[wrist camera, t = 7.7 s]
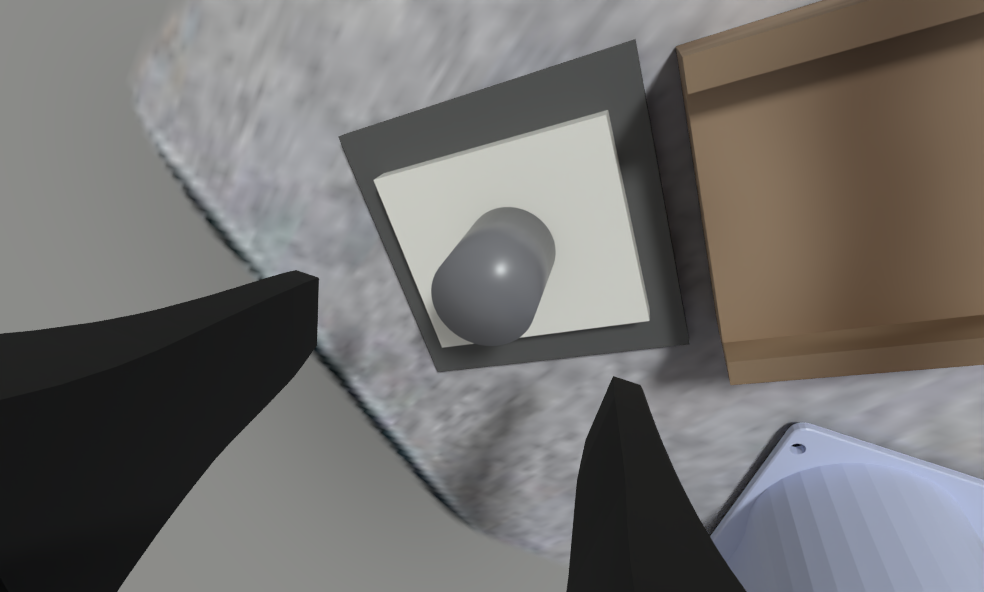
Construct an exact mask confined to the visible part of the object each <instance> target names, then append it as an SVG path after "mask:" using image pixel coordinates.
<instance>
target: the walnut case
mask: <svg viewBox="0 0 984 592" xmlns="http://www.w3.org/2000/svg"><path fill="white" fill-rule="evenodd" d="M676 52H677V59H678V66H679V72H680V79H681V86H682V92H683V99H684V106H685V112H686V119H687V126H688V132H689V139H690V145H691V152H692V159H693V165H694V172H695V179H696V185H697V192H698V199H699V205H700V212H701V219H702V225H703V232H704V239H705V245H706V252H707V259H708V265H709V272H710V279H711V285H712V292H713V299H714V305H715V312H716V319H717V324H718V329H719V334H720V338H721V343H722V348H723V352H724V357H725V362H726V366H727V371H728V375H729V380H730V385H738V384H751V383H763V382H775V381H788V380H800V379H812V378H825V377H837V376H849V375H862V374H874V373H886V372H899V371H911V370H924V369H936V368H948V367H961V366H973V365H984V0H822V1H819V2H816V3H813V4H809V5H806V6H803V7H800V8H797V9H793V10H790V11H787V12H784V13H781V14H777V15H774V16H771V17H768V18H765V19H762V20H758V21H755V22H752V23H749V24H746V25H742V26H739V27H736V28H733V29H730V30H726V31H723V32H720V33H717V34H714V35H710V36H707V37H704V38H701V39H698V40H694V41H691V42H688V43H685V44H682V45H679V46H676Z"/></svg>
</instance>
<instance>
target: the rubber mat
mask: <svg viewBox="0 0 984 592" xmlns="http://www.w3.org/2000/svg"><path fill="white" fill-rule="evenodd" d="M606 110H608V112H609V117H610V122H611V127H612V131H613V136H614V141H615V146H616V151H617V155H618V160H619V165H620V170H621V175H622V179H623V184H624V189H625V194H626V198H627V203H628V208H629V213H630V218H631V222H632V227H633V232H634V237H635V242H636V246H637V251H638V256H639V261H640V266H641V270H642V275H643V280H644V285H645V290H646V294H647V299H648V304H649V309H650V321H645V322H637V323H630V324H622V325H614V326H606V327H599V328H591V329H583V330H575V331H568V332H560V333H552V334H544V335H537V336H529V337H521V338H518V339H517V340H515V341H513V342H511V343H508V344H505V345H499V346H484V345H478V344H467V345H459V346H452V347H444V348H442V346H441V344H440V341H439V339H438V336H437V334H436V331H435V329H434V327H433V324H432V322H431V319H430V317H429V314H428V312H427V309H426V307H425V305H424V302H423V300H422V297H421V295H420V292H419V290H418V288H417V285H416V283H415V280H414V278H413V275H412V273H411V270H410V268H409V266H408V263H407V261H406V258H405V256H404V253H403V251H402V248H401V246H400V244H399V241H398V239H397V236H396V234H395V231H394V229H393V227H392V224H391V222H390V219H389V217H388V214H387V212H386V209H385V207H384V205H383V202H382V200H381V197H380V195H379V192H378V190H377V187H376V185H375V183H374V179H376V178H377V177H379V176H380V175H382V174H383V173H387V172H390V171H394V170H397V169H401V168H404V167H408V166H411V165H415V164H418V163H422V162H425V161H429V160H433V159H436V158H440V157H443V156H447V155H450V154H454V153H457V152H461V151H464V150H468V149H471V148H475V147H479V146H482V145H486V144H489V143H493V142H496V141H500V140H503V139H507V138H510V137H514V136H517V135H521V134H524V133H528V132H532V131H535V130H539V129H542V128H546V127H549V126H553V125H556V124H560V123H563V122H567V121H570V120H574V119H578V118H581V117H585V116H588V115H592V114H595V113H599V112H602V111H606ZM339 139H340V142H341V144H342V146H343V149H344V151H345V154H346V156H347V158H348V161H349V163H350V165H351V168H352V170H353V172H354V175H355V177H356V180H357V182H358V184H359V187H360V189H361V191H362V194H363V196H364V198H365V201H366V203H367V205H368V208H369V210H370V213H371V215H372V217H373V220H374V222H375V224H376V227H377V229H378V231H379V234H380V236H381V239H382V241H383V243H384V246H385V248H386V250H387V253H388V255H389V257H390V260H391V262H392V265H393V267H394V269H395V272H396V274H397V276H398V279H399V281H400V283H401V286H402V288H403V290H404V293H405V295H406V298H407V300H408V302H409V305H410V307H411V309H412V312H413V314H414V316H415V319H416V321H417V324H418V326H419V328H420V331H421V333H422V335H423V338H424V340H425V342H426V345H427V347H428V349H429V352H430V354H431V357H432V359H433V361H434V364H435V366H436V368H437V371H438V372H442V371H451V370H460V369H469V368H478V367H487V366H496V365H505V364H514V363H523V362H532V361H541V360H550V359H560V358H569V357H578V356H587V355H596V354H605V353H614V352H623V351H632V350H641V349H650V348H659V347H668V346H677V345H686V344H689V337H688V331H687V326H686V320H685V314H684V309H683V303H682V298H681V292H680V286H679V281H678V275H677V270H676V264H675V258H674V253H673V247H672V242H671V236H670V230H669V225H668V219H667V214H666V208H665V202H664V197H663V191H662V186H661V180H660V174H659V169H658V163H657V158H656V152H655V146H654V141H653V135H652V130H651V124H650V118H649V113H648V107H647V102H646V96H645V90H644V85H643V79H642V74H641V68H640V62H639V57H638V51H637V46H636V40H631V41H628V42H625V43H622V44H619V45H616V46H613V47H610V48H607V49H604V50H601V51H598V52H595V53H592V54H589V55H586V56H583V57H579V58H576V59H573V60H570V61H567V62H564V63H561V64H558V65H555V66H552V67H549V68H546V69H543V70H540V71H537V72H534V73H531V74H527V75H524V76H521V77H518V78H515V79H512V80H509V81H506V82H503V83H500V84H497V85H494V86H491V87H488V88H485V89H482V90H479V91H475V92H472V93H469V94H466V95H463V96H460V97H457V98H454V99H451V100H448V101H445V102H442V103H439V104H436V105H433V106H430V107H427V108H423V109H420V110H417V111H414V112H411V113H408V114H405V115H402V116H399V117H396V118H393V119H390V120H387V121H384V122H381V123H378V124H375V125H371V126H368V127H365V128H362V129H359V130H356V131H353V132H350V133H347V134H344V135H342V136H339Z"/></svg>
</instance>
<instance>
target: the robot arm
mask: <svg viewBox="0 0 984 592" xmlns="http://www.w3.org/2000/svg"><path fill="white" fill-rule="evenodd" d="M318 288H319V278H318V277H315V276H312V275H309V274H306V273H303V272H300V271H297V270H295V271H290V272H286V273H282V274H279V275H275V276H272V277H268V278H265V279H262V280H259V281H255V282H252V283H249V284H246V285H243V286H240V287H236V288H233V289H230V290H226V291H223V292H220V293H216V294H213V295H210V296H206V297H202V298H199V299H195V300H191V301H188V302H184V303H180V304H176V305H173V306H169V307H165V308H161V309H157V310H153V311H149V312H144V313H140V314H135V315H130V316H126V317H120V318H115V319H110V320H104V321H99V322H93V323H86V324H78V325H71V326H64V327H57V328H49V329H42V330H34V331H25V332H15V333H4V334H0V592H117V591H118V590H119V588H120V586H121V585H122V584H123V582H124V581H125V579H126V578H127V576H128V575H129V573H130V572H131V571H132V569H133V568H134V566H135V565H136V563H137V562H138V560H139V559H140V558H141V556H142V555H143V553H144V552H145V551H146V549H147V548H148V546H149V545H150V543H151V542H152V541H153V539H154V538H155V536H156V535H157V534H158V532H159V531H160V530H161V528H162V527H163V526H164V524H165V523H166V522H167V520H168V519H169V518H170V516H171V515H172V514H173V512H174V511H175V510H176V508H177V507H178V506H179V504H180V503H181V502H182V500H183V499H184V498H185V496H186V495H187V494H188V493H189V491H190V490H191V489H192V488H193V486H194V485H195V484H196V482H197V481H198V480H199V479H200V478H201V476H202V475H203V474H204V472H205V471H206V470H207V469H208V467H209V466H210V465H211V463H212V462H213V461H214V460H215V459H216V457H218V456H219V454H220V453H221V452H222V451H223V450H224V449H225V448H226V446H228V444H229V443H230V442H231V441H232V440H233V439H234V438H235V437H236V436H237V435H238V434H239V433H240V432H241V431H242V430H243V429H244V428H245V427H246V426H247V425H248V424H249V423H250V422H251V421H252V420H253V419H254V418H255V417H256V416H257V415H258V414H259V413H260V412H261V411H262V410H263V408H265V407H266V406H267V405H268V403H269V402H270V401H271V400H272V399H273V398H274V397H275V396H276V395H277V394H278V393H279V392H280V391H281V390H282V389H283V388H284V387H285V386H286V385H287V384H288V382H289V381H290V380H291V379H292V378H293V377H294V376H295V375H296V373H297V372H298V371H299V369H300V368H301V367H302V365H303V364H304V363H305V361H306V360H307V358H308V357H309V356H310V354H311V353H312V351H313V350H314V349H315V347H316V346H317V324H318ZM793 444H802V445H800V446H797V447H794V446H792V445H793ZM567 592H984V480H982V479H979V478H976V477H973V476H970V475H967V474H964V473H961V472H958V471H955V470H952V469H949V468H945V467H942V466H939V465H936V464H933V463H930V462H927V461H924V460H921V459H918V458H915V457H912V456H909V455H906V454H902V453H899V452H896V451H893V450H890V449H887V448H884V447H881V446H878V445H875V444H872V443H869V442H866V441H863V440H859V439H856V438H853V437H850V436H847V435H844V434H841V433H838V432H835V431H832V430H829V429H826V428H823V427H820V426H816V425H813V424H810V423H805V422H802V423H796V424H794V425H792V426H791V427H790V428H789V429H788V430H787V431H786V433H785V434H784V435H783V437H782V438H781V440H780V441H779V442H778V444H777V445H776V446H775V448H774V449H773V451H772V452H771V453H770V455H769V456H768V457H767V459H766V460H765V462H764V463H763V464H762V466H761V467H760V468H759V470H758V471H757V473H756V474H755V475H754V477H753V478H752V479H751V481H750V482H749V484H748V485H747V486H746V488H745V489H744V490H743V492H742V493H741V495H740V496H739V497H738V499H737V500H736V501H735V503H734V504H733V506H732V507H731V508H730V510H729V511H728V512H727V514H726V515H725V517H724V518H723V519H722V521H721V522H720V523H719V525H718V526H717V528H716V529H715V530H714V532H713V533H712V534H711V536H709V534H708V533H707V531H706V529H705V528H704V526H703V524H702V523H701V521H700V519H699V517H698V516H697V514H696V512H695V510H694V508H693V506H692V504H691V502H690V500H689V499H688V497H687V495H686V493H685V491H684V489H683V487H682V485H681V483H680V481H679V478H678V476H677V474H676V472H675V470H674V468H673V466H672V463H671V461H670V459H669V456H668V454H667V452H666V450H665V447H664V445H663V443H662V440H661V438H660V435H659V433H658V430H657V428H656V425H655V422H654V420H653V417H652V414H651V412H650V409H649V406H648V403H647V400H646V397H645V394H644V392H643V389H642V387H641V385H638V384H635V383H632V382H629V381H626V380H623V379H620V378H617V377H614V376H613V378H612V380H611V383H610V385H609V387H608V389H607V392H606V394H605V396H604V399H603V401H602V403H601V406H600V408H599V410H598V413H597V415H596V417H595V419H594V422H593V424H592V426H591V429H590V431H589V433H588V436H587V438H586V441H585V445H584V450H583V455H582V459H581V464H580V469H579V474H578V479H577V487H576V498H575V509H574V520H573V531H572V543H571V554H570V566H569V577H568V584H567Z"/></svg>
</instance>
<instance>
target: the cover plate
mask: <svg viewBox="0 0 984 592" xmlns="http://www.w3.org/2000/svg"><path fill="white" fill-rule="evenodd" d="M374 183H375V185H376V187H377V190H378V192H379V195H380V197H381V200H382V202H383V205H384V207H385V209H386V212H387V214H388V217H389V219H390V222H391V224H392V227H393V229H394V231H395V234H396V236H397V239H398V241H399V244H400V246H401V248H402V251H403V253H404V256H405V258H406V261H407V263H408V266H409V268H410V270H411V273H412V275H413V278H414V280H415V283H416V285H417V288H418V290H419V292H420V295H421V297H422V300H423V302H424V305H425V307H426V309H427V312H428V314H429V317H430V319H431V322H432V324H433V327H434V329H435V331H436V334H437V336H438V339H439V341H440V344H441V346H442V348H444V347H452V346H459V345H467V344H478V345H484V346H499V345H505V344H508V343H511V342H513V341H515V340H517V339H518V338H521V337H529V336H537V335H544V334H552V333H560V332H568V331H575V330H583V329H591V328H599V327H606V326H614V325H622V324H630V323H637V322H645V321H650V309H649V304H648V299H647V294H646V290H645V285H644V280H643V275H642V270H641V266H640V261H639V256H638V251H637V246H636V242H635V237H634V232H633V227H632V222H631V218H630V213H629V208H628V203H627V198H626V194H625V189H624V184H623V179H622V175H621V170H620V165H619V160H618V155H617V151H616V146H615V141H614V136H613V131H612V127H611V122H610V117H609V112H608V110H606V111H602V112H599V113H595V114H592V115H588V116H585V117H581V118H578V119H574V120H570V121H567V122H563V123H560V124H556V125H553V126H549V127H546V128H542V129H539V130H535V131H532V132H528V133H524V134H521V135H517V136H514V137H510V138H507V139H503V140H500V141H496V142H493V143H489V144H486V145H482V146H479V147H475V148H471V149H468V150H464V151H461V152H457V153H454V154H450V155H447V156H443V157H440V158H436V159H433V160H429V161H425V162H422V163H418V164H415V165H411V166H408V167H404V168H401V169H397V170H394V171H390V172H387V173H383V174H382V175H380V176H379V177H377V178H376V179H374Z"/></svg>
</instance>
